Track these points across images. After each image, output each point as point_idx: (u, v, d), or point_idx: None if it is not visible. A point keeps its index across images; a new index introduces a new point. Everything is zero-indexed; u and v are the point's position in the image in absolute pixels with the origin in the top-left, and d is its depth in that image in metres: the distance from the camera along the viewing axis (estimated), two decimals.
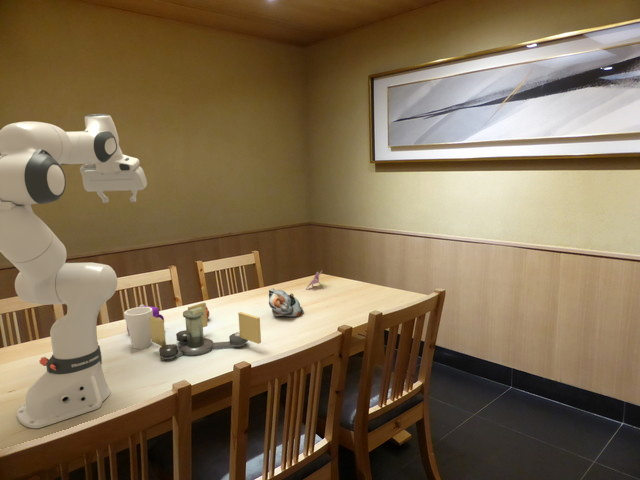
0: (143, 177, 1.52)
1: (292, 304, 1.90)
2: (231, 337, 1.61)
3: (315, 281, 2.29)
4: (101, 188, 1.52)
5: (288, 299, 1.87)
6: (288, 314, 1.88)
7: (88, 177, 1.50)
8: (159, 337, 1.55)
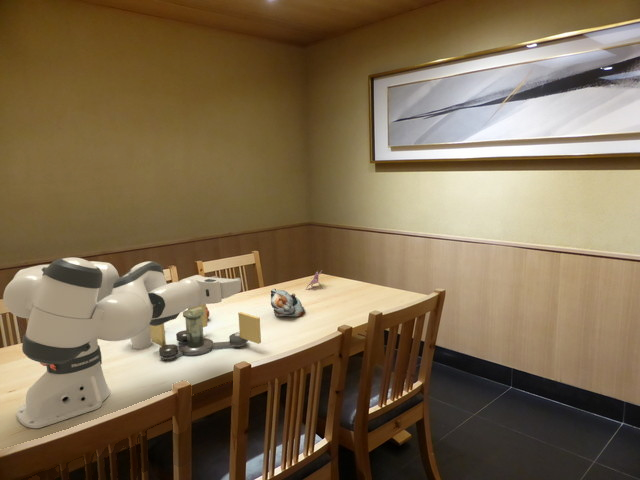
0: (233, 287, 1.34)
1: (294, 304, 1.90)
2: (231, 337, 1.61)
3: (315, 281, 2.29)
4: None
5: (290, 299, 1.87)
6: (290, 314, 1.88)
7: None
8: (159, 337, 1.55)
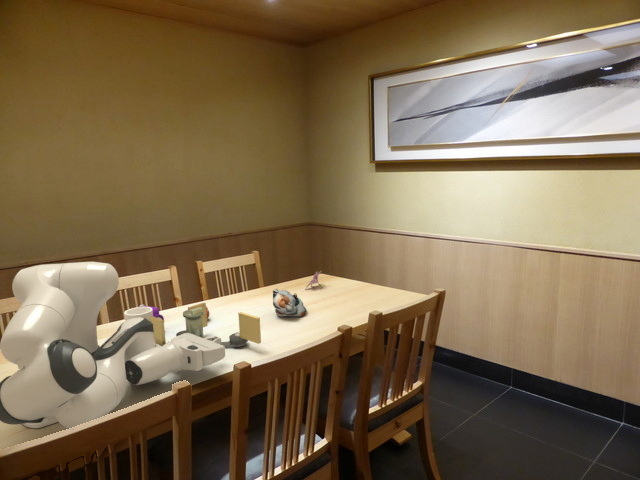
0: (215, 355, 1.35)
1: (296, 304, 1.90)
2: (231, 337, 1.61)
3: (314, 281, 2.29)
4: None
5: (293, 299, 1.87)
6: (292, 314, 1.88)
7: None
8: (159, 337, 1.55)
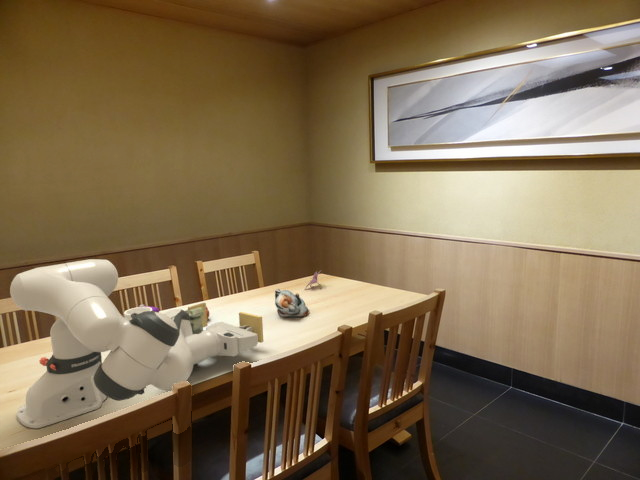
0: (249, 342, 1.45)
1: (298, 304, 1.90)
2: None
3: (313, 281, 2.29)
4: None
5: (295, 299, 1.87)
6: (295, 314, 1.88)
7: None
8: None
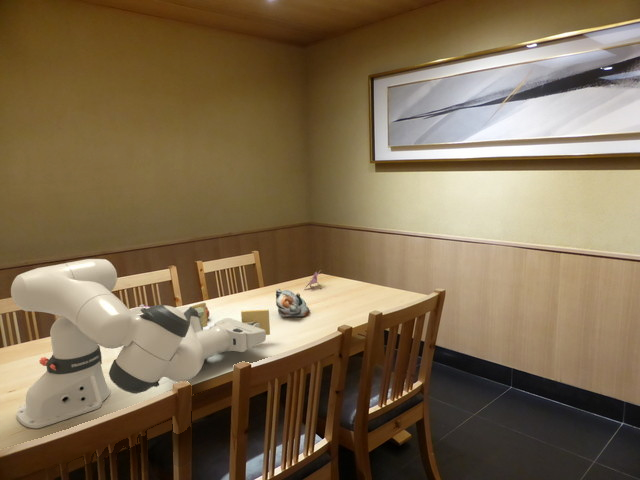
0: (258, 338, 1.48)
1: (299, 304, 1.90)
2: None
3: (313, 281, 2.29)
4: None
5: (296, 299, 1.87)
6: (296, 314, 1.88)
7: None
8: None
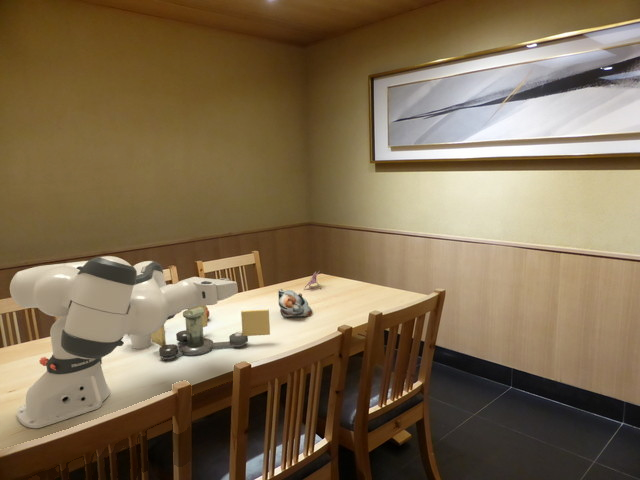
0: (229, 289, 1.37)
1: (302, 303, 1.90)
2: (235, 338, 1.60)
3: (313, 281, 2.29)
4: None
5: (299, 299, 1.87)
6: (299, 314, 1.88)
7: None
8: (159, 337, 1.55)
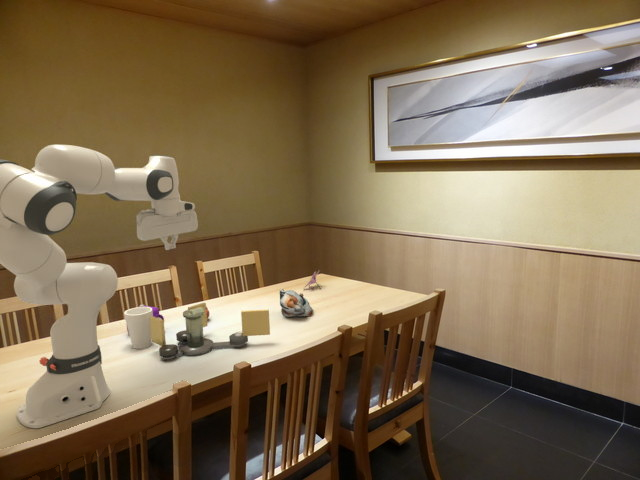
0: None
1: (303, 303, 1.90)
2: (235, 338, 1.60)
3: (312, 281, 2.29)
4: (160, 234, 1.43)
5: (300, 299, 1.87)
6: (300, 314, 1.88)
7: (148, 223, 1.39)
8: (159, 337, 1.55)
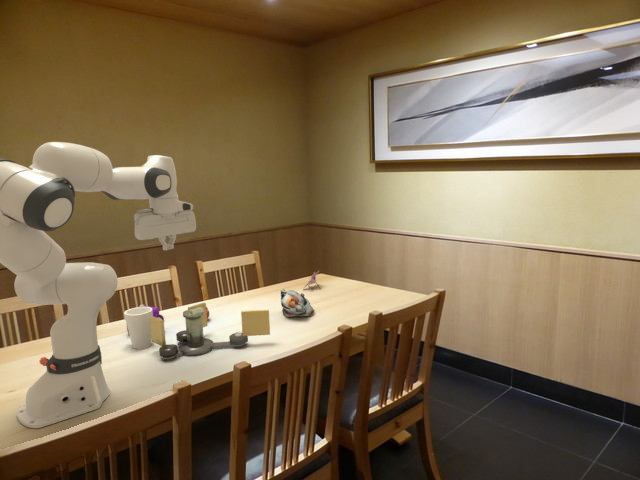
0: None
1: (304, 303, 1.90)
2: (235, 338, 1.60)
3: (312, 281, 2.29)
4: (158, 234, 1.42)
5: (302, 299, 1.87)
6: (301, 314, 1.88)
7: (146, 223, 1.39)
8: (159, 337, 1.55)
